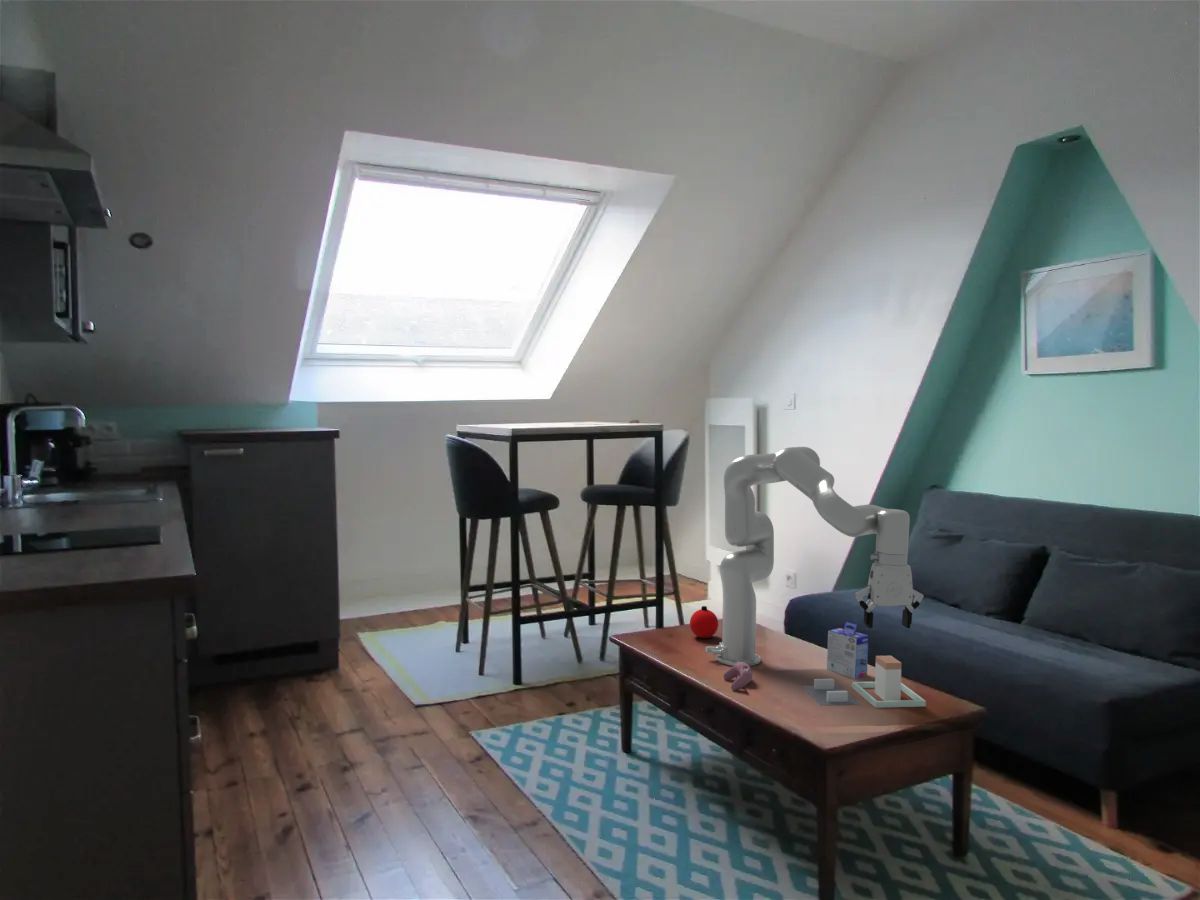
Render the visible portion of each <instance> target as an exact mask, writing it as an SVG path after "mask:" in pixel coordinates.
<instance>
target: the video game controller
mask: <svg viewBox="0 0 1200 900" xmlns="http://www.w3.org/2000/svg"><path fill="white" fill-rule="evenodd" d="M751 670H752V669H751V666H749V665H748V664H746V663H744V662H739V661H738V663H735V664H734V666H732V667H730V668H729V669H727V670H726V671H725V672H724V674H723V679H724V680H725V681H729V680H733V679H734V681H733V682H732V683H731V685H730V689H731V690H732V691H734V692H735V691H736V692H737V691H739V690H741V689H743V688H745V687H746V686H747V684H749V683H750V682H751V681H752V680H753V671H751Z"/></svg>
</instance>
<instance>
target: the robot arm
mask: <svg viewBox="0 0 1200 900" xmlns="http://www.w3.org/2000/svg"><path fill="white" fill-rule="evenodd" d="M781 482H782V483H783V482H788V483H789V484H790V485H792V486H793V487H795V489H797V490H799V491H800V492H801V493H802V494H803V495H805V496H806V497H807V498H808V499H810V501H812V503H813V507H814V508H815V509H816V512H817V513H818V515H819V516H820V517H821V519H823V520H824V521H825V522H826V523H827V524H829V525H830V526H832V527H833V528H834V529H836V530H837V531H838V532H840V533H841V534H843V535H844V536H848V537H850V538H851V537H852V538H857V537H863V536H866V535H867V536H868V535H874V534H876V536H875V537H876V538H875V539H876V540H875V541H876V542H875V551H874V553H873V554H872V553H871V554H870V555H869V558H870V560H871V561H874V562H872V565H871V567H870V570H869V571H870V572H869V577H868V582H867V586H866V587H864V588H863V589H861V590H858V591H857V592H855V593H854V597H855V600H856V602H857V604H858V606H860V607H861V608H862V610H863V623H864V626H865V627H867V628H868V629H872V628H873V625H874V624H873V623H874V613H873V612H872V611H873V610H874V609H875V607H877V606H878V607H903V608H904V609H902V614H901V615H902V617H901V625H902V626H903V627H905V628H906V629H911V624H912V622H913V613H914V612H915V610H916V609H917V608H918V607H919V606H920V605H921V602H922V600H923V598H924V594H923V593H921V592H919V591H918V590H915V589H914V587H913V586H914V585H913V574H912V569H911V565H909V564H908V556H909V555H908V554H909V538H910V537H909V535H910V523H911V522H910V521H911V520H910V519H911V518H910V514H909V512H907V511H906V510H903V509H902V510H901V509H897V508H886V507H882V506H879V505H875V504H860V505H855V506H853V505H852V504H850V503H849V502H847V501H846V500H844V499H843V498H842V497H841V496H839V495H838V494H837V492H836V491H835V490H834V485H835V477H834V475H833V474H832V473H831V472H829V471H827V470H826V469H825V468H823V467H822V466H821V459H820V457H819V455H818V453H817V452H816V451H815V450H814V449H812V448H810V447H808V446H793V447H791V446H790V447H785V448H783V449H781V450H779V451H778V452H772V453H758V454H756V453H755V454H747V455H741V456H739V457H737V458H735V459H734V460H732V461H731V462H730V463H729V464H728V465H727V467H726V468H725V470H724V473H723V489H724V532H725V533H724V535H725V539H726V541H727V542H728V544H729V545H730V546H732V547H736V548H739V547H740V548H741V547H745V549H741V550H738V551H734V552H733V551H732V552H731V553H729V554H726V556H725V557H723V559H722V560H721V562H720V566H719V573H720V574H719V575H720V580H721V587H722V625H721V626H722V629H721V630H722V631H721V635H722V636H721V637H722V639H721V641H720V642H719V644H718V645H716V646H712V645H707V646H705V653H706V654H711V655H712V656H713V655H714V656H715V655H716V661H718V662H719V663H721V664H724V665H727V666H732V667H733V666H734V664H735V663H738V661H739V662H744V663H746V664H748V665H749V666H750V667H752V666H756V665H758V664H760V663H761V661H762V660H761V656H760V655H759V654H758V653H756V644H757V643H756V642H757V641H756V638H757V636H756V635H757V632H756V631H757V597H756V593H755V590H754V586H753V583H755V582H756V583H757V582H759V581H763V580H766V579H767V578H769V577H770V576H771V574H772V572H773V569H774V562H775V559H774V558H775V556H774V555H775V553H774V552H775V551H774V550H775V547H774V546H775V544H774V543H775V536H774V535H775V534H774V533H775V532H774V525H773V523H772V520H771V519H770V517H769V516H768V515H767V514H766V513H764V512H762V511H759V510H758V511H756V498H755V493H754V491H753V489H752V486H756V485H765V484H774V483H775V484H777V483H781ZM865 596H866V598H867V601H866V602H865V600H864V599H863V598H864V597H865ZM913 597H914V598H913Z"/></svg>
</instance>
